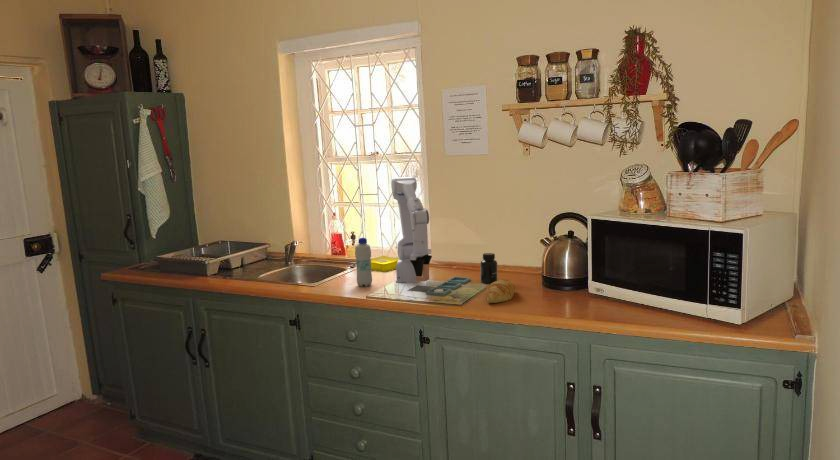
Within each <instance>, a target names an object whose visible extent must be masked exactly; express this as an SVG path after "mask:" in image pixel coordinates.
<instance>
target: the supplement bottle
mask: <svg viewBox="0 0 840 460" xmlns="http://www.w3.org/2000/svg"><path fill="white" fill-rule="evenodd" d="M495 281H498V261H497V260H496V255H495V253H493V252H492V253H491V252H486V253H485V252H484V253H482V260H481V261H480V283H481V284H483V285H484V284H485V285H490V284H491V283H493V282H495Z"/></svg>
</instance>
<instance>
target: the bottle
mask: <svg viewBox="0 0 840 460" xmlns="http://www.w3.org/2000/svg"><path fill="white" fill-rule="evenodd" d="M367 241H368V239H367V238H366V237H360V238H358V244H357V245H355V250H354V255H355V260H356V261H355V264H356V283H357V286H358V287H360V288H361V287H363V288H364V287H370V286H371V285H372V284H373V283H372V282H373V274H372V270H371V259H372V258H371V257H372V252H371V251H372V250H371V245H370V244H368V242H367Z"/></svg>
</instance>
